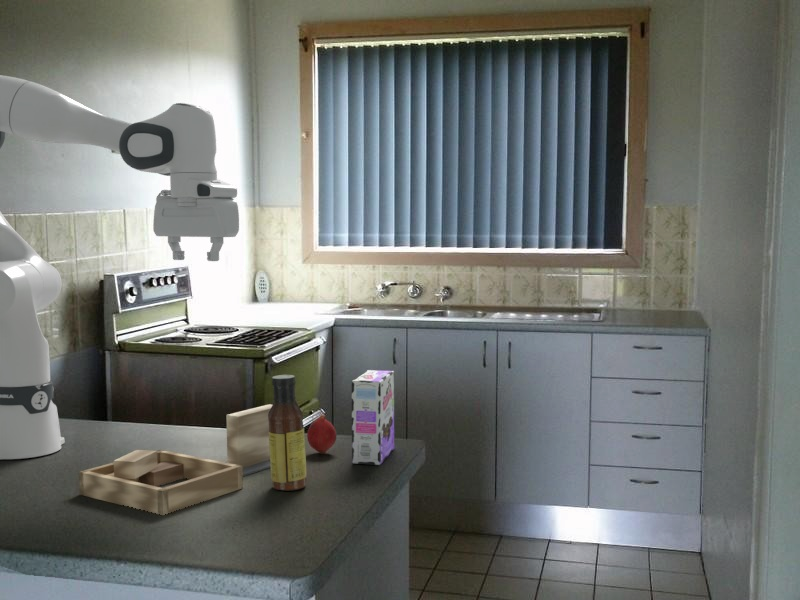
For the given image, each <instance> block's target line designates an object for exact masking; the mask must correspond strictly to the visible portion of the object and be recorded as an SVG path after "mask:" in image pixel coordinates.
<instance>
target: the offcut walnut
mask: <svg viewBox="0 0 800 600" xmlns="http://www.w3.org/2000/svg"><path fill="white" fill-rule="evenodd" d="M182 478H184V467H183V464H181V463H176V462H171V461H166V462H163V463H159V464H158V467H157V468H155V469H153V470H151V471H149V472H147V473H146V474H144V475H142V476H140V477H139V480H138V483H143V484H147V485H152V486H156V487H161V486H163V485H167V484H169V483H173V481H174V482H176V480H177V481H180V480H183V479H182ZM179 479H180V480H179ZM184 479H185V478H184ZM166 483H167V484H166ZM160 485H161V486H160Z"/></svg>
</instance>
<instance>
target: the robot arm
mask: <svg viewBox="0 0 800 600" xmlns="http://www.w3.org/2000/svg"><path fill="white" fill-rule="evenodd" d="M213 117H214V116H213V114H212V113H211V112H210V110H208V109H207V108H205V107H202V106H200V105H199V106H197V105H194V104H189V103H184V102H177V103H174V104H172V105H170V107H169V108H168V109H167V110H165V111H163V112H161V113H160V114H158V115H155V116H153V117H151V118H147V119H145V120H141V121H138V122H134V123H131V122H127V121H123V120H120V119H118V118H117V119H116V118H114V117H110V116H108V115H105V114H102V113H99V112H97V111H95V110H94V109H91V108H90V107H88V106H85V105H84V104H82V103H80V102H78V101H76V100H74V99H72V98H70V97H68V96H67V95H65V94H63V93H61V92H59V91H56V90H54V89H53V88H50V87H48V86H45V85H43V84H40V83H38V82H36V81H35V82H34V81H30V80H26V79H24V78H19V77H14V76H8V75H0V149H1V148H2V146H3V144H4V143H5V140H6V139H5V138H6V134H9V135H12V136H16V137H18V138H21V139H22V138H23V139H26V140H30V141H35V142H43V143H49V144H50V143H52V144H72V145H73V144H78V145H88V146H89V145H91V146H96V147H101V148H104V149H106V150H107V149H108V150H111V151H114V152H118V153H120V156H121V159H122V160H123V161H124V163H125V164H126V165H127V166H129V168H132V169H134V170H136V171H138V172H139V171H140V172H145V173H153V174H159V175H162V176H166V177H167V176H168V177H169V179H170V180H169V182H170V185H169V187H170V189H162V190H161V191H160V192H159V193H158V194H157V196H156V199H155V201H156V203H155V204H154V205H155V206H154V210H153V225H152V226H153V228H152V229H153V232H154V235H155V236H156V237H167V243H168V246H169V247H170V249H171V252H172V259H173V261H184V260H185V250H182V248H181V245H180V243H181V241H182V240H181V237H183V238H185V237H189V238H191V237H192V238H198V237H199V238H210V243H211V244H212V245H211V248H210V251H207V252H206V256H207V257H206V260H207V261H208V262H218V261H219V260H220V251H221V249H222V247H223V245H224V238H235V237H237V235H238V233H239V231H240V215H239V214H240V213H239V205H238V202H237V201H236V200H235V198H237V196H238V188H237V187H236V186H234V185H233V184H229V183H227V182H224V181H223V180H221V179H218V171H217V168H216V165H215V163H216V162H215V160H216V159H215V158H216V153H217V137H216V127H215V126H216V125H215V122H214V121H215V120H214V118H213ZM62 288H63V281H62V277H61V274H60V272H59V271H58V269H57V268H56V267H55V266H54V265H52V264H50V263H48V262H47V261H46V260H44V258H43V257H41V256H40V255H39V254H38V253H37V251H36V250H35V249H34V248H33V247H32V246H31V244H29V243H28V242H27V241H26V240H25V239H24V238H23V237H22V235H20V234H19V233H18V232H17V231H16V230H15V229H14V228H13V226H12V225H11V224H10V223H9V221H8V220H7V219H6V217H5V216H4V214H3V213H2V211H1V210H0V460H21V459H29V458H37V457H42V456H47V455H50V454H54V453H56V452H58V451H59V450H61V449H62V445H63V444H65V443H66V440H65V437H63V436H61V427H60V420H59V415H58V407H57V405H56V403H54V402H53V399H54V392H55V391H54V386H53V384H54V383H53V380H52V379H51V367H50V366H51V363H50V361H51V360H50V345H49V341H48V339H47V338H45V335H44V334H43V332H42V329H41V326H40V323H39V319H38V313H37V312H38V311H43V310H45V309H46V308H48V307H49V306H51V304H53V303H54V302H55V301H56V300H57V299H58V298H59V296H60V295H61V292H62Z"/></svg>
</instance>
